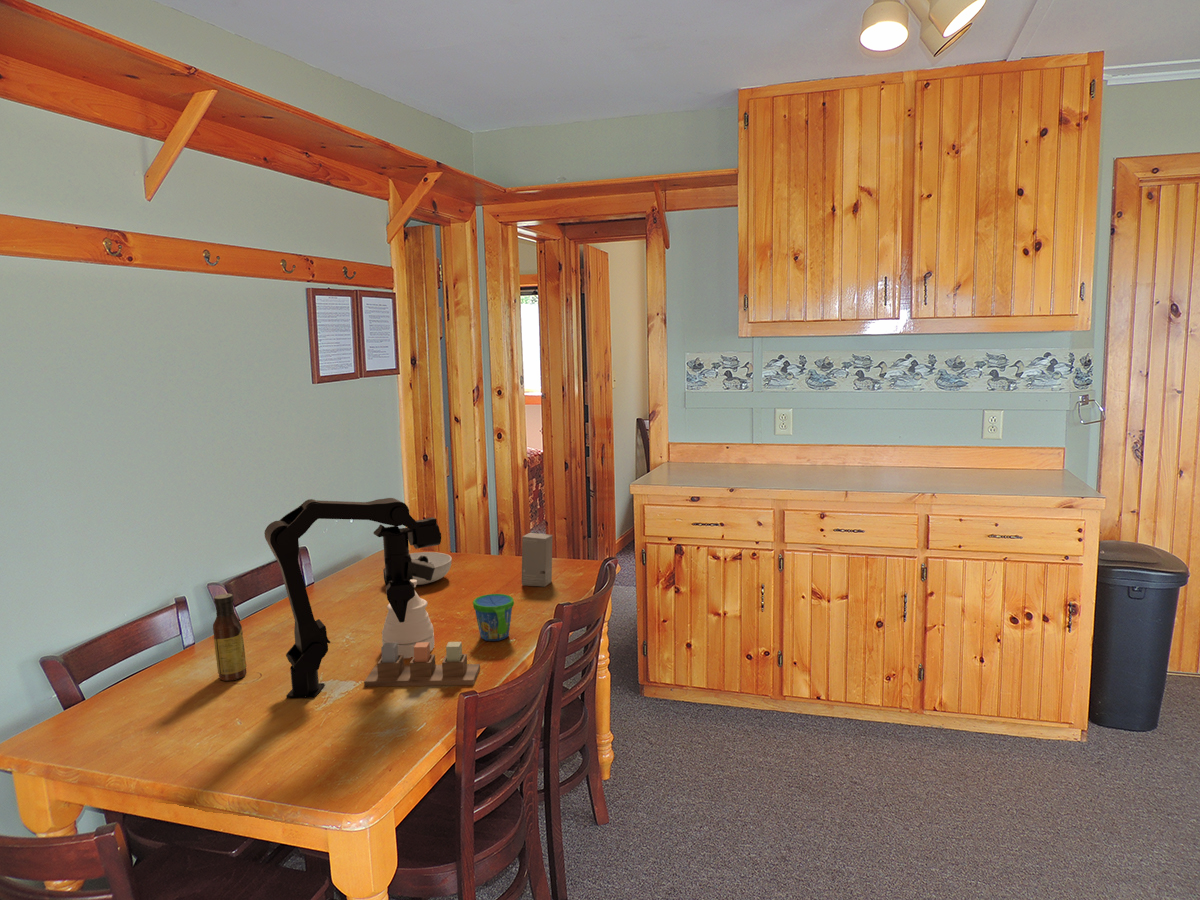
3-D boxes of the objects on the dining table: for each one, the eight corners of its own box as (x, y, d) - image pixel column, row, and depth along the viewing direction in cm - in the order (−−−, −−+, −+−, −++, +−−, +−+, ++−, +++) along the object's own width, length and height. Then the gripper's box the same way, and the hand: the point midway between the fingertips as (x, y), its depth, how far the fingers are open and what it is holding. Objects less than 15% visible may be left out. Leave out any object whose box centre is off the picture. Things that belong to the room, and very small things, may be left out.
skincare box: (521, 585, 257) (519, 537, 255) (529, 579, 264) (528, 531, 261) (546, 587, 254) (544, 538, 252) (554, 580, 261) (552, 533, 259)
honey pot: (443, 641, 212) (439, 574, 209) (419, 660, 199) (415, 589, 197) (399, 637, 215) (395, 571, 213) (373, 656, 203) (368, 586, 200)
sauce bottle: (252, 674, 193) (245, 594, 190) (229, 684, 188) (221, 601, 185) (235, 669, 197) (228, 590, 194) (211, 678, 191) (204, 597, 188)
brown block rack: (473, 685, 184) (472, 665, 184) (364, 686, 185) (363, 667, 184) (480, 668, 193) (479, 650, 193) (375, 670, 194) (374, 651, 193)
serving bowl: (385, 575, 272) (384, 555, 271) (448, 568, 278) (447, 549, 277) (388, 594, 252) (387, 572, 251) (456, 586, 258) (455, 565, 257)
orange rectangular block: (427, 666, 187) (426, 647, 187) (414, 667, 187) (413, 647, 187) (430, 661, 190) (429, 642, 190) (417, 661, 190) (416, 642, 190)
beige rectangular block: (460, 666, 187) (459, 646, 186) (447, 666, 187) (446, 646, 186) (462, 661, 190) (461, 641, 189) (449, 661, 190) (448, 641, 189)
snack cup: (520, 644, 208) (519, 606, 206) (479, 650, 205) (477, 611, 203) (509, 624, 223) (507, 588, 221) (470, 629, 220) (468, 593, 218)
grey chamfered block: (395, 667, 187) (394, 647, 187) (382, 667, 188) (381, 647, 187) (398, 662, 190) (397, 642, 190) (386, 662, 190) (384, 642, 190)
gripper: (435, 558, 184) (439, 624, 186) (427, 539, 202) (431, 599, 204) (384, 563, 181) (389, 630, 183) (381, 543, 199) (385, 605, 201)
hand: (400, 615), depth 193 cm, fingers open, 9 cm apart
